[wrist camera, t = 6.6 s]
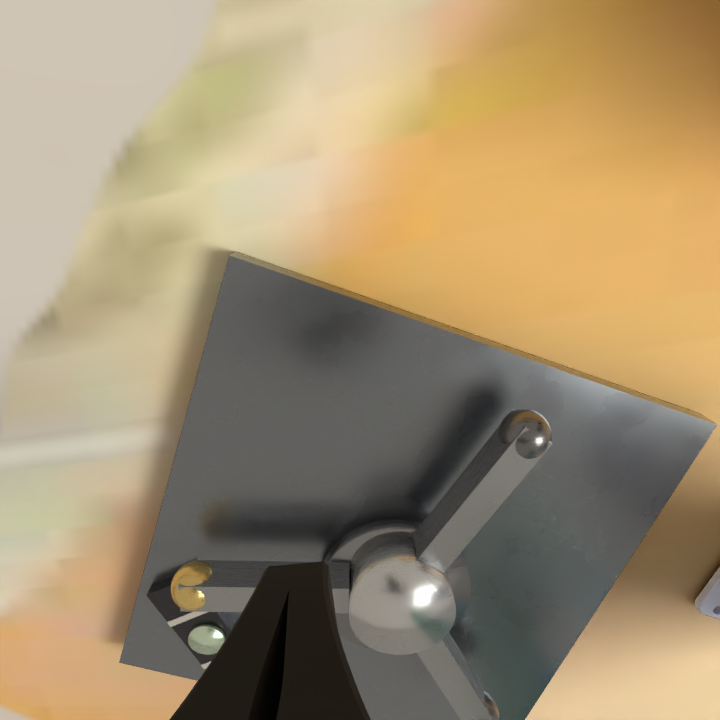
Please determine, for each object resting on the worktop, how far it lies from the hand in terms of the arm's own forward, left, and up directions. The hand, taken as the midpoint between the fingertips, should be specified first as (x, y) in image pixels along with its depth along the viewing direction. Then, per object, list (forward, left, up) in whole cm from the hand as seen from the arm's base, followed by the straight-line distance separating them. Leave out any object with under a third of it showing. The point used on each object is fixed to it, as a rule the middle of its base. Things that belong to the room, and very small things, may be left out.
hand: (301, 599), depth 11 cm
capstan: (-3, +6, -9) cm, 11 cm away
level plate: (-5, +5, -10) cm, 12 cm away
